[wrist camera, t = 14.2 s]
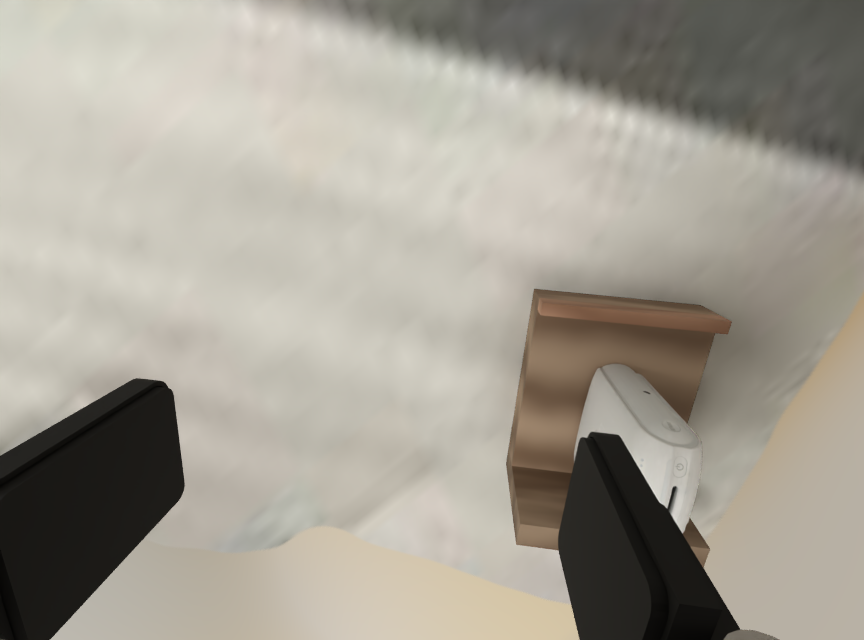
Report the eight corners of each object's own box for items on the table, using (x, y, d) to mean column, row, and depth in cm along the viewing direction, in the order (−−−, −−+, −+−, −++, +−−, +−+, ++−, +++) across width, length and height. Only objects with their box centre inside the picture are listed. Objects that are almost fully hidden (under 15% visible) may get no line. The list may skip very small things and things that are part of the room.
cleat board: (534, 288, 37) (556, 325, 27) (700, 305, 36) (783, 349, 26) (506, 463, 42) (516, 544, 33) (649, 481, 41) (702, 569, 32)
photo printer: (592, 357, 35) (654, 445, 23) (645, 365, 35) (734, 457, 23) (565, 461, 38) (607, 585, 26) (613, 469, 38) (677, 597, 26)
